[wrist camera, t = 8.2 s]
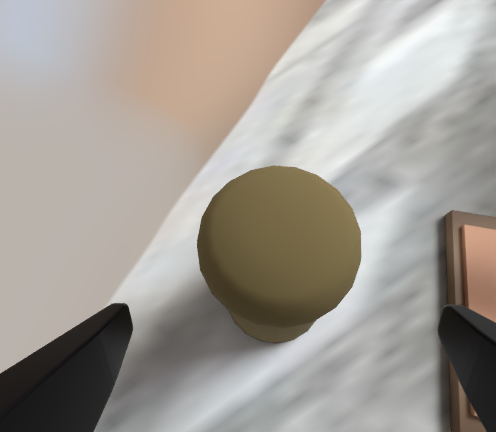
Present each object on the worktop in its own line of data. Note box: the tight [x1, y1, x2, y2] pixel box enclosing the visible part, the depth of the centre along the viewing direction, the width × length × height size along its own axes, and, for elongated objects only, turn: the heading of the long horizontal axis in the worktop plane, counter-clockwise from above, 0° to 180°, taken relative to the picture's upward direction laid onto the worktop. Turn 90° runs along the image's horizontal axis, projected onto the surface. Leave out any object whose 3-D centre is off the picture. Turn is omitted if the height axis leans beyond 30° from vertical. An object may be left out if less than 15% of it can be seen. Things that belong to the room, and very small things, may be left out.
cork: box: [197, 166, 361, 343], centre depth 13 cm, size 6×6×11 cm
